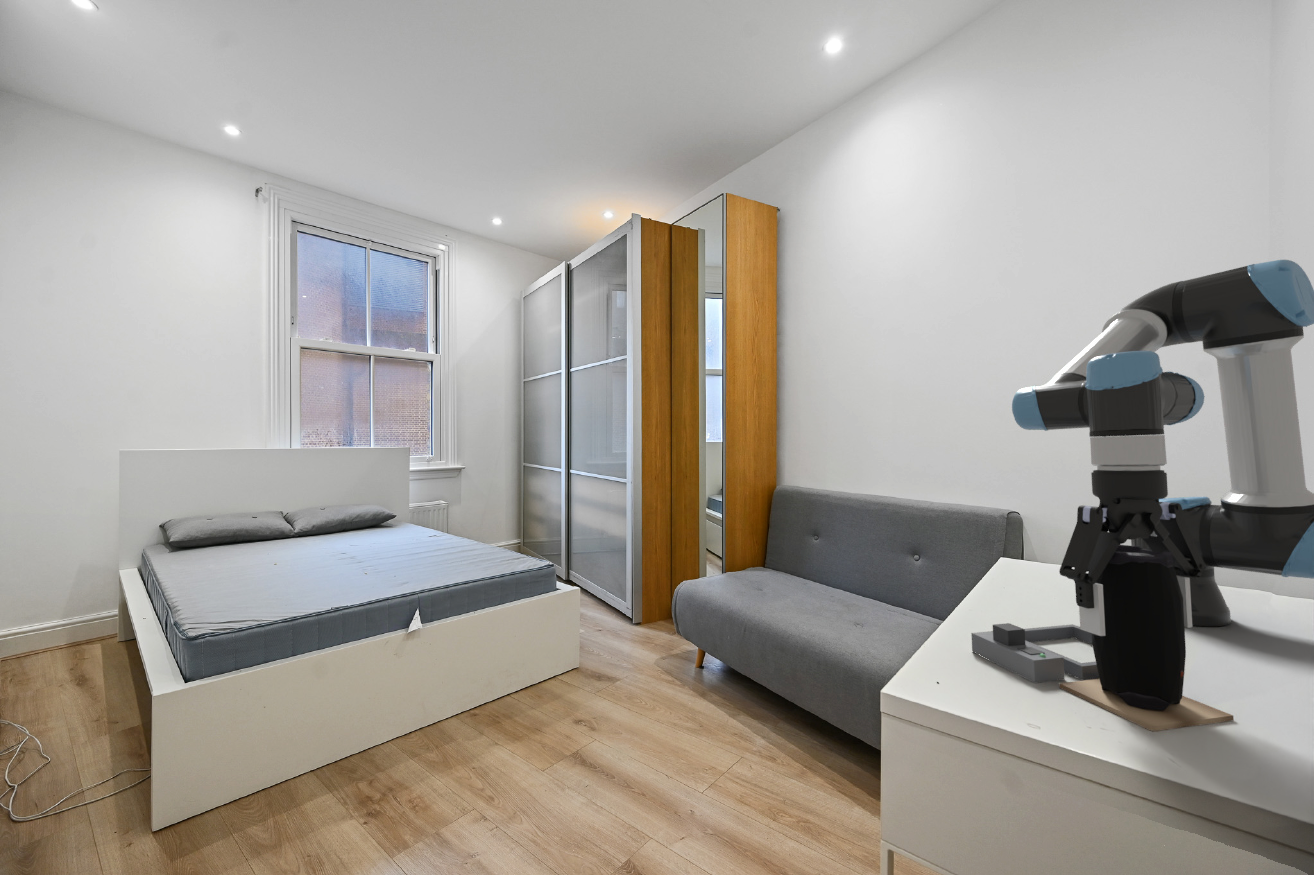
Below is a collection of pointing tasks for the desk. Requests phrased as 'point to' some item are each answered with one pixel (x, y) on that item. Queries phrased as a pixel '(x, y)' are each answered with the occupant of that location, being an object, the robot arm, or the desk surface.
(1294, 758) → the desk surface
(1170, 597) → the portable speaker
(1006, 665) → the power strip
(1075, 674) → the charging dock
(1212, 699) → the desk surface
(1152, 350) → the robot arm
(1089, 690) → the cork mat
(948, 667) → the desk surface
